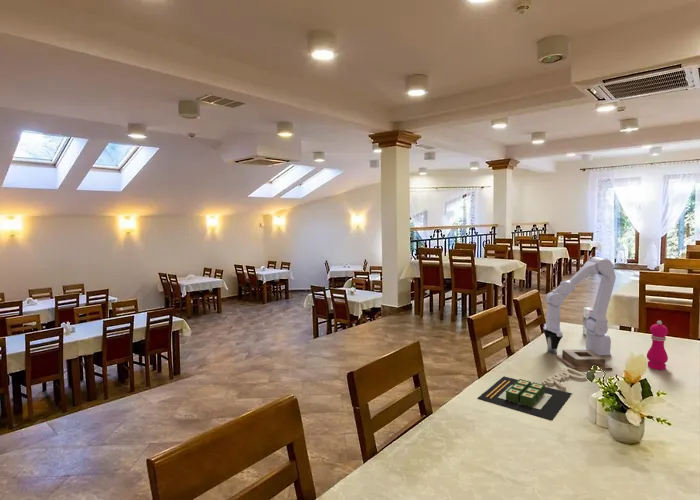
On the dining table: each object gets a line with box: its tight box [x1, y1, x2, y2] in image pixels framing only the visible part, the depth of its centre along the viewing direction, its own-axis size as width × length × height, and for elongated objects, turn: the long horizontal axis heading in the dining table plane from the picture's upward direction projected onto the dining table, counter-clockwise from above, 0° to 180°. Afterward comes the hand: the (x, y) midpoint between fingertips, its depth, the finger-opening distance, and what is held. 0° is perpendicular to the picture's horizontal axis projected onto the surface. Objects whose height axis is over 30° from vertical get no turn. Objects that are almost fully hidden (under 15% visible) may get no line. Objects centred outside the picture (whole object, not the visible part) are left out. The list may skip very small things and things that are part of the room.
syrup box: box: [582, 306, 594, 336], centre depth 223 cm, size 6×6×14 cm
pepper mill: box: [646, 320, 669, 371], centre depth 179 cm, size 7×7×20 cm
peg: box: [546, 336, 558, 355], centre depth 199 cm, size 4×4×7 cm
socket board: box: [555, 349, 613, 371], centre depth 186 cm, size 16×16×4 cm
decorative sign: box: [541, 366, 587, 391], centre depth 168 cm, size 23×2×10 cm
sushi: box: [477, 375, 573, 421], centre depth 155 cm, size 25×25×4 cm
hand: (552, 347), depth 200 cm, fingers closed on peg, 4 cm apart
